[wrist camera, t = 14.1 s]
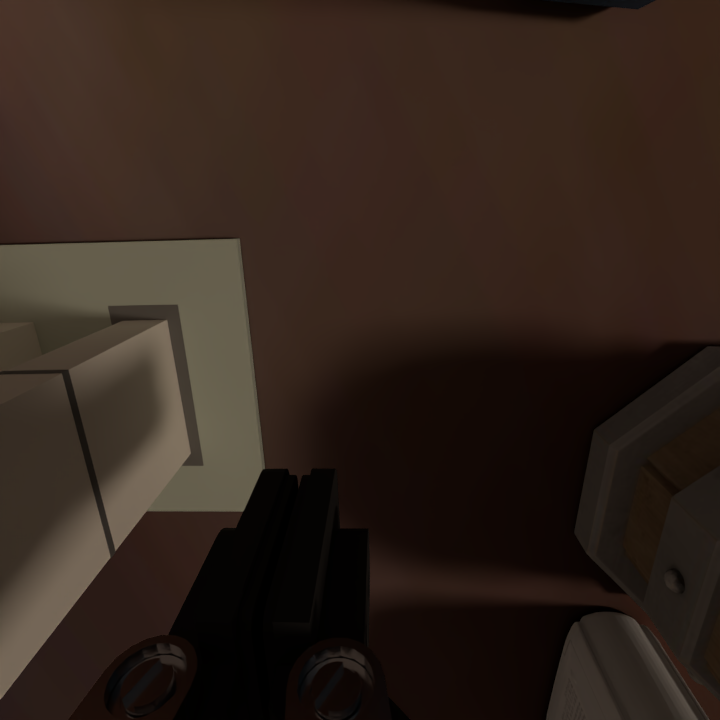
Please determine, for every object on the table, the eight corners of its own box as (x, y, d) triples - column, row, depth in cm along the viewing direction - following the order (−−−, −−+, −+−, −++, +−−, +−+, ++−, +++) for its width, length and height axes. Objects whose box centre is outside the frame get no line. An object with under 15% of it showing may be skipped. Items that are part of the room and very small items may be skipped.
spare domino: (191, 454, 19) (-75, 799, 8) (150, 454, 19) (-171, 796, 8) (167, 319, 17) (-228, 520, 6) (122, 320, 18) (-351, 520, 6)
